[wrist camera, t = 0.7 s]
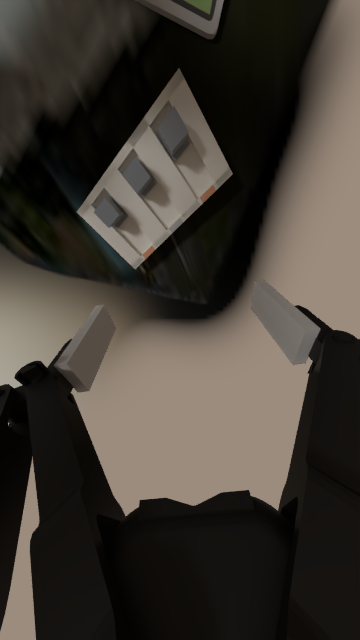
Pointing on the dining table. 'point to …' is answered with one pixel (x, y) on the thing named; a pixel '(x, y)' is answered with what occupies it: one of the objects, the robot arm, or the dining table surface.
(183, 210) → the switch bank
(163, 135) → the switch tab
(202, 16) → the handheld gaming console
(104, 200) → the switch tab
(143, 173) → the switch tab
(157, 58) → the dining table surface
